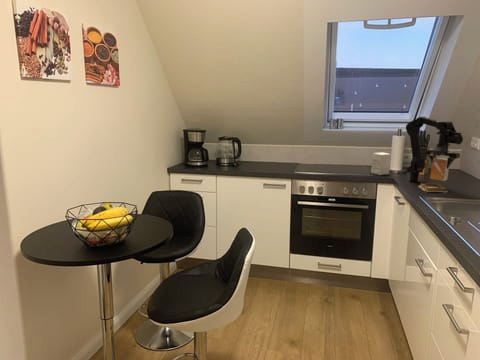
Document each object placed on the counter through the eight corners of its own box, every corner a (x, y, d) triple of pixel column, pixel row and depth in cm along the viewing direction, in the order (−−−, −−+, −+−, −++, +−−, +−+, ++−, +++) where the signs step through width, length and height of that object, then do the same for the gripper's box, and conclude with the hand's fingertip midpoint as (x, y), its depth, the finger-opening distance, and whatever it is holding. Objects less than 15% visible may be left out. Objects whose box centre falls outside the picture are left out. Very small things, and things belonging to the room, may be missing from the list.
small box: (429, 178, 233) (432, 158, 229) (433, 177, 237) (436, 157, 234) (443, 181, 227) (446, 160, 224) (447, 179, 231) (450, 159, 228)
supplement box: (380, 171, 279) (382, 152, 276) (389, 174, 271) (391, 153, 268) (370, 172, 276) (372, 152, 273) (379, 175, 268) (381, 154, 264)
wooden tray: (418, 186, 235) (418, 182, 235) (438, 187, 234) (439, 183, 233) (426, 192, 222) (426, 188, 221) (447, 193, 220) (448, 189, 219)
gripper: (421, 141, 229) (418, 166, 233) (453, 145, 214) (449, 171, 218) (431, 140, 235) (427, 164, 239) (462, 143, 221) (458, 169, 225)
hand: (440, 167), depth 230 cm, fingers closed on small box, 8 cm apart
